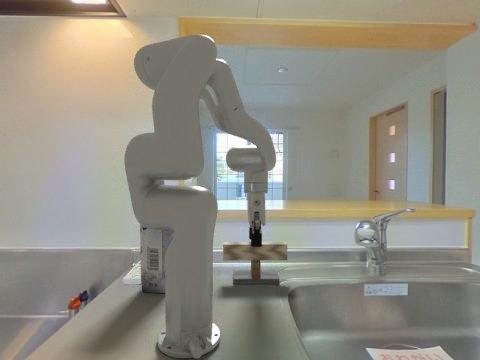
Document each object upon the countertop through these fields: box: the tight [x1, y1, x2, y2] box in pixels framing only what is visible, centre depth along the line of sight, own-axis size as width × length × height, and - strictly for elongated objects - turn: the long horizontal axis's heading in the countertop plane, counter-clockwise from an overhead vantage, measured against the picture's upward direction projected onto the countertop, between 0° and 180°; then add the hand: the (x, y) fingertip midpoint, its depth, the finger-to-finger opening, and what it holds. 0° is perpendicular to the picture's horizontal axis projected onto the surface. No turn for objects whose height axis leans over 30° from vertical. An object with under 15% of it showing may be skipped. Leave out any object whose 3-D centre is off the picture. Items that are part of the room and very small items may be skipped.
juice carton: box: [139, 223, 175, 294], centre depth 87 cm, size 9×10×27 cm
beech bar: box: [222, 241, 288, 261], centre depth 93 cm, size 20×3×5 cm, turn 91°
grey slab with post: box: [232, 260, 281, 285], centre depth 94 cm, size 8×14×6 cm, turn 91°
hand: (255, 242), depth 93 cm, fingers open, 9 cm apart
